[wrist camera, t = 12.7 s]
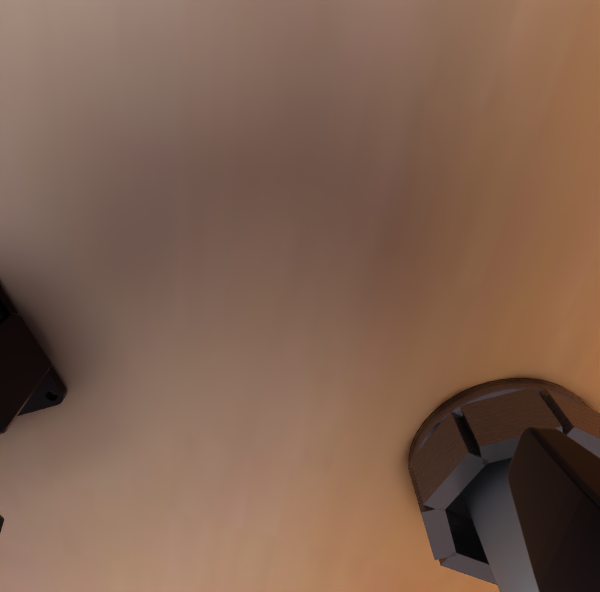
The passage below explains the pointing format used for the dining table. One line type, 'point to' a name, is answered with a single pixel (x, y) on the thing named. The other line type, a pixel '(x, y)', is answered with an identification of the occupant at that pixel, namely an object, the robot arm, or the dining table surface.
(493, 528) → the peg
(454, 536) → the socket collar
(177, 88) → the dining table surface
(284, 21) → the dining table surface
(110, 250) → the dining table surface
